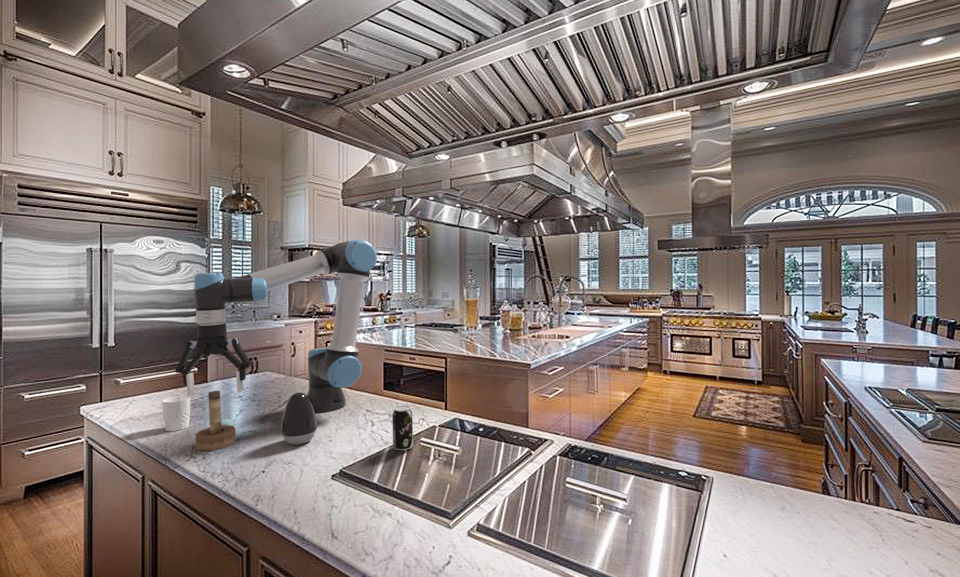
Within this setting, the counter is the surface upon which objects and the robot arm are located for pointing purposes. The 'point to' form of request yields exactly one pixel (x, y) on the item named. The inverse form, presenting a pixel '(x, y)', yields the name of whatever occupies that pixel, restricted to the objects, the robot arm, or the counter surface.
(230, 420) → the small bead
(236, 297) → the robot arm
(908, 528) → the counter surface
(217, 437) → the wooden peg base
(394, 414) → the beverage can
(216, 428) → the tan wooden rod
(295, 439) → the black egg shaped speaker
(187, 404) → the white cup
